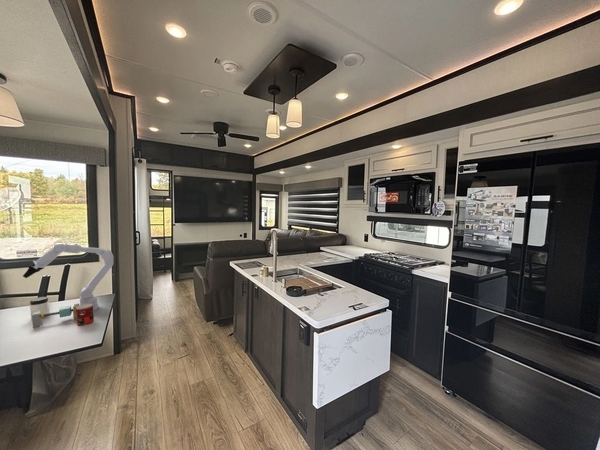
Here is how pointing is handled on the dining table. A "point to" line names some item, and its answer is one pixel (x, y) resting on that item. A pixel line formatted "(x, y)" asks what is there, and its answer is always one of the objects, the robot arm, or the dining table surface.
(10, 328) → the dining table surface
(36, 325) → the rod peg assembly
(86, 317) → the canned food
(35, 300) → the jar
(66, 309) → the sleeve
